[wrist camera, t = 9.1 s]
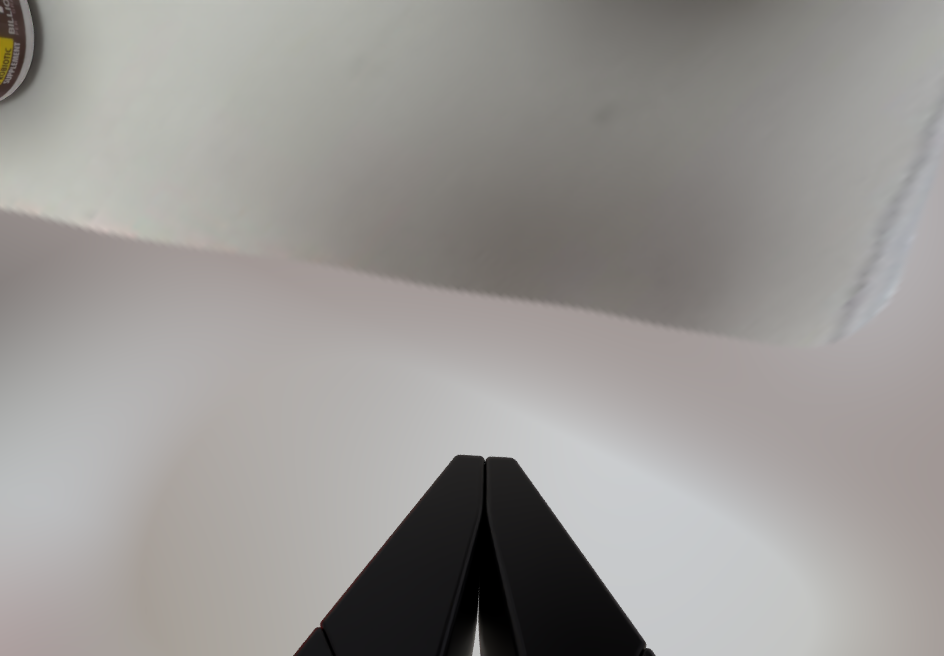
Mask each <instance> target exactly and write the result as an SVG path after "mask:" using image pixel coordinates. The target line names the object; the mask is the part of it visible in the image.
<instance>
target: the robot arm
mask: <svg viewBox="0 0 944 656" xmlns="http://www.w3.org/2000/svg"><path fill="white" fill-rule="evenodd" d="M478 598H479V615H478V619H479V620H478V623H479V641H480V654H481V656H655V654H654V653H653V651H652V650H651V649H649V648H646V642H645V641H644V639H643V638H642V636H641V635H640V634H639V632H638V631H637V629H636V628H635V627H634V625H633V624H632V622H631V621H630V620H629V618H628V617H627V616H626V614H625V613H624V611H623V610H622V608H621V607H620V606H619V604H618V603H617V601H616V600H615V599H614V597H613V596H612V594H611V593H610V592H609V590H608V589H607V588H606V586H605V585H604V583H603V582H602V581H601V579H600V578H599V576H598V575H597V573H596V572H595V571H594V569H593V568H592V566H591V565H590V564H589V562H588V561H587V559H586V558H585V557H584V555H583V554H582V552H581V551H580V549H579V548H578V547H577V545H576V544H575V543H574V541H573V540H572V538H571V537H570V536H569V534H568V533H567V531H566V530H565V529H564V527H563V526H562V524H561V523H560V522H559V520H558V519H557V517H556V516H555V514H554V513H553V512H552V510H551V509H550V507H549V506H548V505H547V503H546V502H545V500H544V499H543V498H542V496H541V495H540V494H539V492H538V491H537V489H536V488H535V487H534V485H533V484H532V482H531V481H530V479H529V478H528V477H527V475H526V474H525V472H524V471H523V470H522V468H521V467H520V466H519V464H518V463H517V461H516V460H514V459H513V458H507V457H488V458H487V459H486V461H485V460H484V458H483V457H482V456H471V455H457V456H455V457H454V458H453V460H452V461H451V462H450V463H449V465H448V466H447V467H446V468H445V470H444V471H443V472H442V473H441V474H440V476H439V477H438V478H437V479H436V481H435V482H434V483H433V484H432V486H431V487H430V488H429V489H428V490H427V492H426V493H425V494H424V496H423V497H422V498H421V499H420V501H419V502H418V503H417V504H416V505H415V507H414V508H413V509H412V510H411V511H410V513H409V514H408V515H407V516H406V518H405V519H404V520H403V521H402V523H401V524H400V525H399V526H398V527H397V529H396V530H395V531H394V532H393V534H392V535H391V536H390V537H389V539H388V540H387V541H386V542H385V544H384V545H383V546H382V547H381V549H380V550H379V551H378V552H377V554H376V555H375V556H374V557H373V559H372V560H371V561H370V562H369V563H368V565H367V566H366V567H365V568H364V569H363V571H362V572H361V573H360V574H359V576H358V577H357V578H356V579H355V581H354V582H353V583H352V584H351V585H350V587H349V588H348V589H347V590H346V592H345V593H344V594H343V595H342V597H341V598H340V599H339V600H338V602H337V603H336V604H335V605H334V606H333V608H332V609H331V610H330V611H329V613H328V614H327V615H326V616H325V618H324V619H323V620H322V621H321V623H320V626H321V627H317V628H315V629H314V631H313V632H312V633H311V634H310V636H309V637H308V638H307V640H306V641H305V642H304V643H303V644H302V645H301V647H300V648H299V650H298V651H297V652H296V653H295V654H294V655H293V656H472V652H473V646H474V640H475V631H476V624H477V613H478Z"/></svg>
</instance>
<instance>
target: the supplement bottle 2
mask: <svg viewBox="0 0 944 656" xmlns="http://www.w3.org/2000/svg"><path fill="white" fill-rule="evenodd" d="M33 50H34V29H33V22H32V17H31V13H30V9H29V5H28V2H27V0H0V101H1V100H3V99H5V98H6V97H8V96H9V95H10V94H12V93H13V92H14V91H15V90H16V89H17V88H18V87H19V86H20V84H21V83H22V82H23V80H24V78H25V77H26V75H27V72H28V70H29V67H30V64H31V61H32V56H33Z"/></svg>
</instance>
